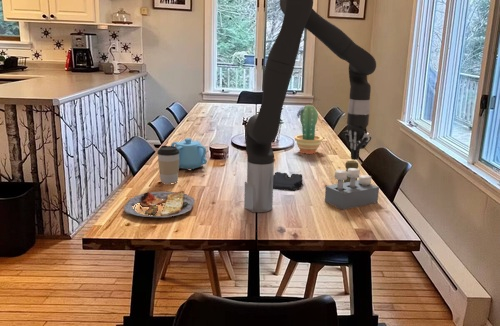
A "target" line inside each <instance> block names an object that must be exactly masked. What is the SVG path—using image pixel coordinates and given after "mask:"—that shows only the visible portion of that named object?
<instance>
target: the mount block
mask: <svg viewBox="0 0 500 326" xmlns="http://www.w3.org/2000/svg"><path fill="white" fill-rule="evenodd" d="M337 184H338V183H336V184H329V185H326V186H325V193H324V202H325V203H328V204H330V205H332V206H334V207H336V208H337V209H340V210H343V211H344V210H348V209H354V208H358V207H363V206H367V205H372V204H377V203H378V202H379V200H378V199H379V192H380V191H379V190H380V187H379V186H378V185H375V184H370V185H367V186H362V184H359V179H357V181H356V183H355V188H350V182H346V183H343V190H342V191H339V190H337Z"/></svg>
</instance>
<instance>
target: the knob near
mask: <svg viewBox="0 0 500 326" xmlns="http://www.w3.org/2000/svg"><path fill="white" fill-rule="evenodd" d="M334 179H335V180H337V183H336V184H337V190H339V191H342V190H343V182H344V180H346V179H347V171H346V170H344V169H343V170H342V169H337V170H335V171H334Z"/></svg>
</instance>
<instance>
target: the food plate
mask: <svg viewBox="0 0 500 326" xmlns="http://www.w3.org/2000/svg"><path fill="white" fill-rule="evenodd" d="M162 199H163V200H162ZM195 202H196V200H195V198H194V197H192V196H190V195H189V194H187V193H185V191H183V190H181V191H167V190H165V191H163V190H162V191H153V192H152V191H150V192H149V191H147V192H145V193H144V192H143V193H141V194H139V195H135V196H134V197H131V198H129V199H128V201H126V204H125V205H124V206H123V212H125V213H126V214H129V215H134V216H138V217H143V218H144V217H145V218H147V217H148V218H171V217H172V216H173V217H176V216H180V215H183V214H186V213H187V212H190V211H191V210H192V209H193V206H194V204H195ZM137 203H140V205H141V206H142V207H149V209H148V210H146V211H145V213H144V212H143V213H144V214H148V215H144V214H143V213H141V214H140V212H139V213H137V212H136V211H135V207H136V205H135V204H137ZM161 203H165V205H164V207H163V210H162V213H161V212H160V215H157V214H158V213H157V211H158V206H156V205H160V204H161ZM134 205H135V207H134V209H133V207H132V206H134ZM137 205H138V204H137ZM161 205H162V204H161ZM156 213H157V214H156ZM155 214H156V215H155ZM149 215H150V216H149ZM151 215H155V216H151Z"/></svg>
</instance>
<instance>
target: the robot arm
mask: <svg viewBox="0 0 500 326" xmlns="http://www.w3.org/2000/svg"><path fill="white" fill-rule="evenodd" d="M313 6H314V0H279V8H280V10H281V12H282V13H283V18H282V25H281V26H280V27H281V28H280V30H279V32H278V35H277V37H276V39H275V41H274V43H273V44H272V46H271V48H270V50H269V53H268V56H267V57H266V62H265V67H264V70H263V75H262V101H261V104H260V108H259V111H258V113H256V114H253V115H251V116H250V118H249V119H248V120H247V121H246V126H245V152H246V156H247V160H246V161H247V165H246V167H247V168H246V171H247V172H246V174H247V175H246V181H244V201H243V203H244V205H243V207H244V208H245V209H246V210H248V211H250V212H251V213H266V212H271V210H273V202H274V201H273V199H274V189H273V176H274V175H275V172H274V169H275V153H274V151H273V147H272V142H274V141H275V139H276V138H277V136H278V133H279V128H280V123H281V116H282V110H283V107H284V102H285V99H286V96H287V93H288V89H289V86H290V83H291V79H292V76H293V73H294V69H295V65H296V61H297V58H298V57H297V56H298V53H299V50H300V45H301V40H302V37H303V34H304V31H305V29H306V30H307V31H308V32H309V33H311V34H312V35H314V36H315V37H316V38H317V39H318V40H319V41H320V42H322V43H323V45H324V46H325V47H326V48H328V49H329V50H330V51H331V52H332V53H333V54H334V55H336V57H337V58H339V59H340V60H343V61H346V62H347V63H348V76H349V86H350V88H349V99H348V105H347V116H346V117H347V118H346V125H348V126H347V129H346V130H345V131H342V136H343V137H344V141H345V143H346V146H347V147H350V158H351V160H352V161H356V160H359V158H360V150H362V149H365V148H366V147H367V146H368V144H369V143H370V142H371V140H372V137H371V136H369V135H368V134H367V133H368V129H367V128H368V126H369V122H370V111H371V91H372V90H371V89H372V88H371V84H370V83H369V82H368V76H369V75H371V74H373V73H374V72H375V70H376V68H377V61H376V59H375V57H374V56H373V55H372V54H371V53H370V52H368V51H367V50H365V49H364V48H363V47H362V46H360V45H358V44H357V43H355V41H354V40H352V39H351V37H349V36H348V35H347V34H346V33H345V32H344V31H343V30H341V29H340V28H339V27H338V26H336V25H335V24H333V23H331V22H330V21H328V20H327V19H325V18H323V16H321V15H320V14H319V13H318V12H316V11H315V10H314V9H313Z"/></svg>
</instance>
